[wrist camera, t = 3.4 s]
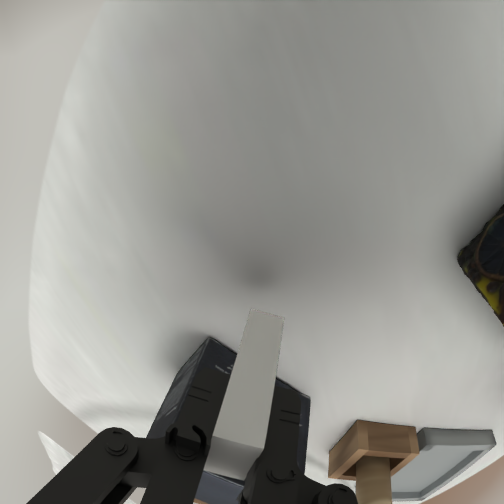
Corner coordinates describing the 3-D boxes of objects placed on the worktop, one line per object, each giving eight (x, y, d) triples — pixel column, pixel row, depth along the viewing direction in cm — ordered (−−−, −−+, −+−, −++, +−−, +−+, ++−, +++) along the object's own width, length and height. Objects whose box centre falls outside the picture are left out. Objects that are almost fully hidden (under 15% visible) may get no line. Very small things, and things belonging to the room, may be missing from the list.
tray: (423, 427, 22) (426, 445, 21) (492, 430, 22) (496, 444, 20) (355, 486, 29) (355, 500, 27) (420, 488, 28) (421, 500, 26)
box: (175, 370, 24) (127, 468, 15) (210, 333, 21) (159, 449, 13) (269, 424, 25) (249, 521, 16) (313, 396, 22) (304, 508, 14)
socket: (357, 419, 23) (358, 449, 20) (415, 427, 22) (419, 453, 20) (329, 451, 25) (328, 477, 23) (382, 458, 25) (384, 482, 22)
